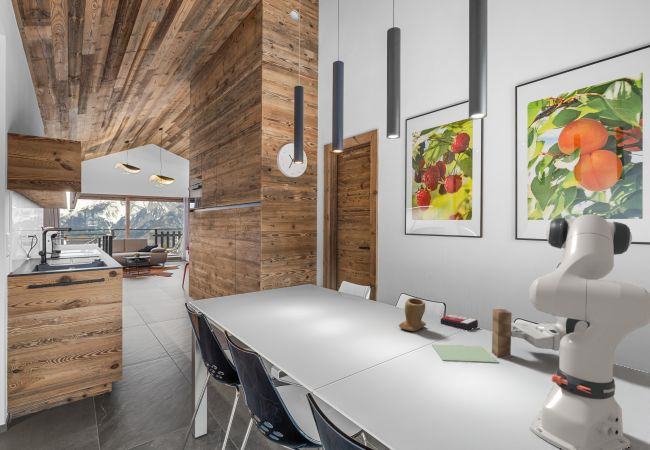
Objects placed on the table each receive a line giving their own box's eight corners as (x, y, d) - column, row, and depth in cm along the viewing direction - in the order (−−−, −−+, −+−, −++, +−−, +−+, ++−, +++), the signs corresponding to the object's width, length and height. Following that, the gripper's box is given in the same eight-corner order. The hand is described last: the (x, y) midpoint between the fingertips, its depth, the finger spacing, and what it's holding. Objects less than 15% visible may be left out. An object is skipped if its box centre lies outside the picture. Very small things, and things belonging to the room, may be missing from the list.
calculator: (450, 313, 181) (477, 318, 170) (450, 321, 181) (478, 327, 170) (440, 317, 174) (468, 322, 163) (440, 325, 174) (468, 331, 162)
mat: (481, 347, 142) (481, 346, 142) (498, 363, 126) (498, 362, 126) (431, 345, 143) (431, 344, 143) (442, 360, 127) (442, 359, 127)
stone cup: (417, 335, 156) (417, 303, 155) (395, 329, 164) (396, 299, 164) (432, 328, 166) (433, 298, 166) (411, 322, 175) (412, 294, 175)
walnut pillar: (504, 352, 136) (505, 309, 136) (510, 357, 131) (511, 312, 131) (491, 352, 136) (492, 309, 136) (497, 357, 131) (498, 312, 131)
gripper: (531, 319, 142) (498, 318, 143) (562, 335, 122) (523, 334, 123) (530, 333, 142) (497, 332, 143) (561, 352, 122) (523, 351, 123)
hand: (509, 333), depth 133 cm, fingers closed
